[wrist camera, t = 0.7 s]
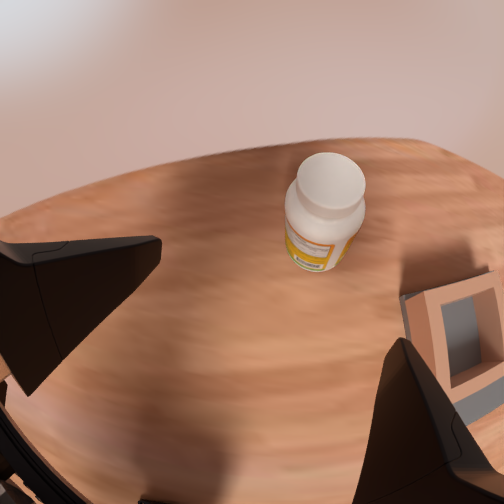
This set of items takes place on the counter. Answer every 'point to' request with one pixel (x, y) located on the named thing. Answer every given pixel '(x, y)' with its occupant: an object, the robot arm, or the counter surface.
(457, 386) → the socket stand
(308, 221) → the supplement bottle
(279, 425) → the counter surface
